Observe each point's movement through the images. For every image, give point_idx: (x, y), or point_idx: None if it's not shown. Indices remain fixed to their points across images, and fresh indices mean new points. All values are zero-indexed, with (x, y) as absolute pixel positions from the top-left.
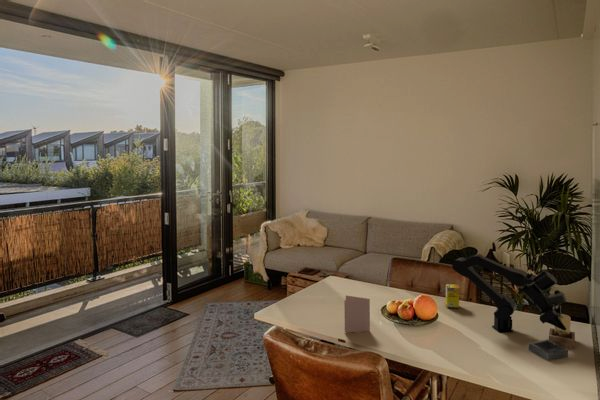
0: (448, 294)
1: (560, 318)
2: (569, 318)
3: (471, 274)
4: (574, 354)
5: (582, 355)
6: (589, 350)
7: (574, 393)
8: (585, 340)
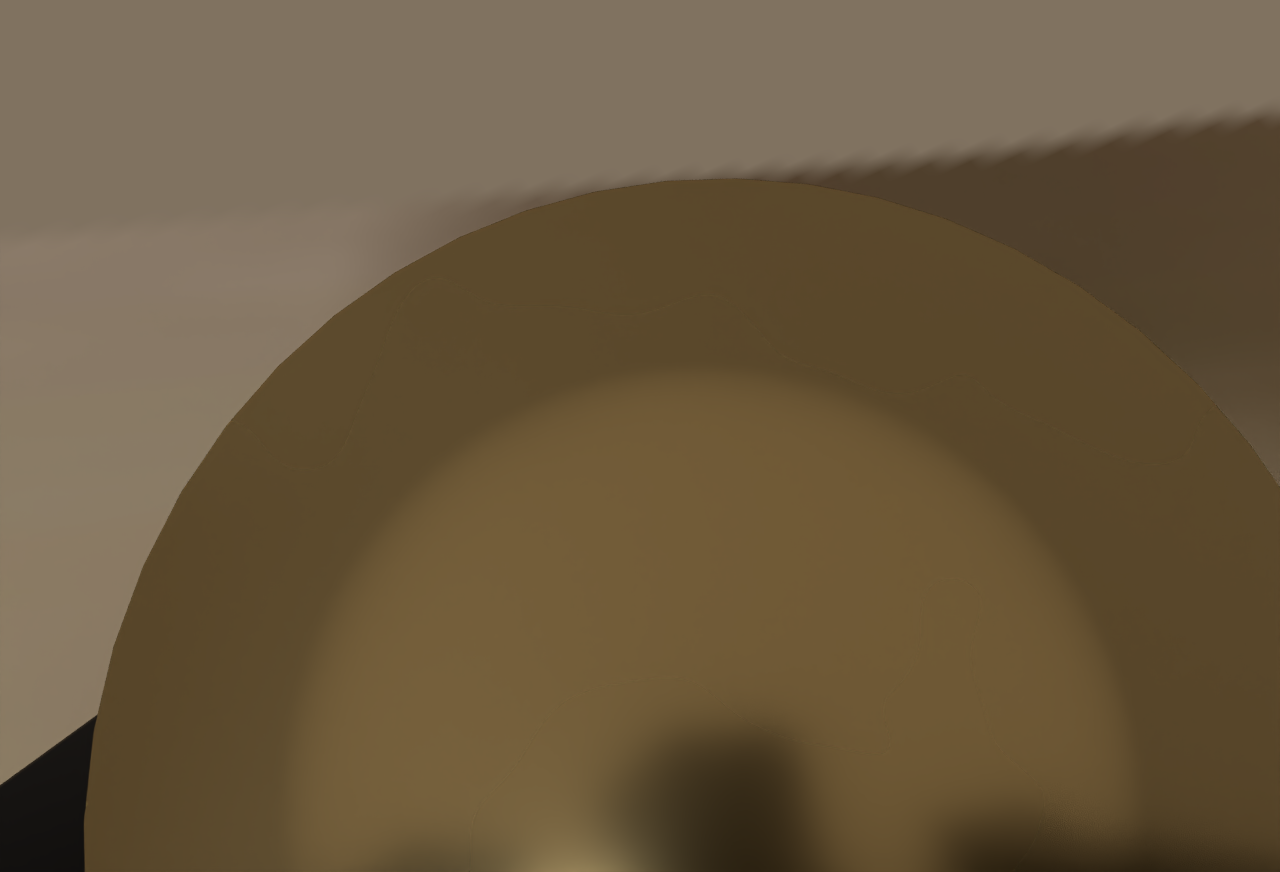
0: None
1: None
2: (902, 229)
3: None
4: (1249, 402)
5: (1168, 258)
6: (769, 172)
7: None
8: (174, 301)
